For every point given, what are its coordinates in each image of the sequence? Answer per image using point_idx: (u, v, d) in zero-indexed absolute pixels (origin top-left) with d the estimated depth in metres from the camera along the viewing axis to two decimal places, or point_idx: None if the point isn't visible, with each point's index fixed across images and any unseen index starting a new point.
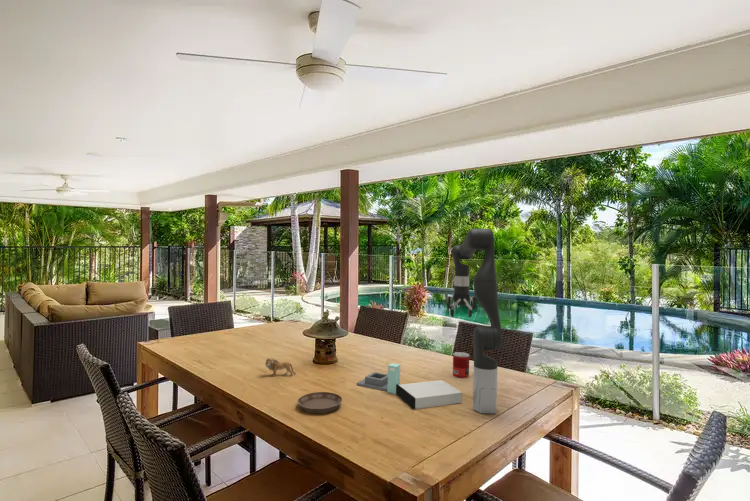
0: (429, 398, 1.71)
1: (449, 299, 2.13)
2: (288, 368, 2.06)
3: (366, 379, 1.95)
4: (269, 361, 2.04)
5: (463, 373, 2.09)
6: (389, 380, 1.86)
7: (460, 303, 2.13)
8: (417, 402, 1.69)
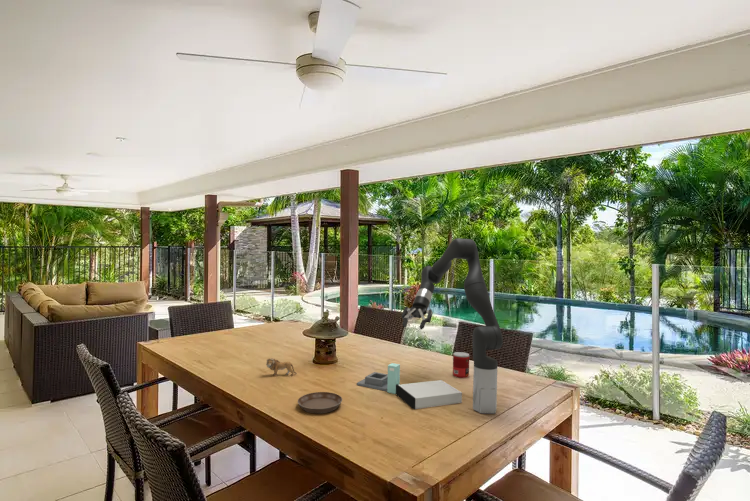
0: (429, 398, 1.71)
1: (405, 309, 2.05)
2: (289, 368, 2.06)
3: (366, 379, 1.95)
4: (270, 361, 2.04)
5: (463, 373, 2.09)
6: (389, 380, 1.86)
7: (415, 313, 2.02)
8: (417, 402, 1.69)
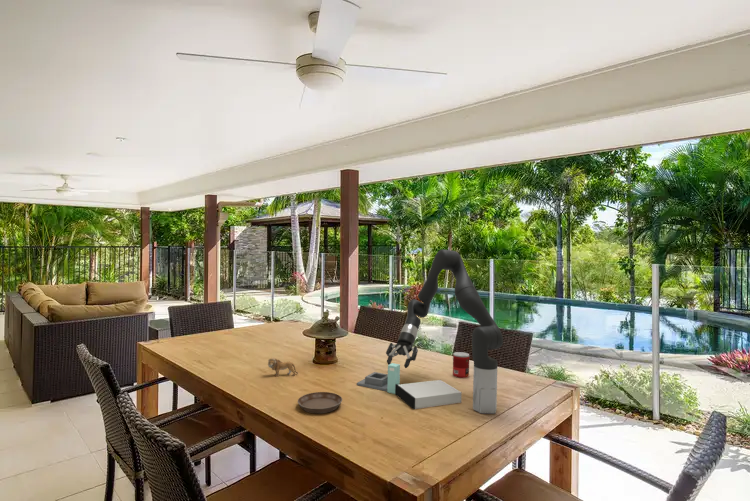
0: (428, 398, 1.71)
1: (390, 345, 1.99)
2: (291, 368, 2.07)
3: (366, 379, 1.95)
4: (272, 361, 2.04)
5: (463, 373, 2.09)
6: (389, 380, 1.86)
7: (399, 350, 1.95)
8: (417, 402, 1.69)
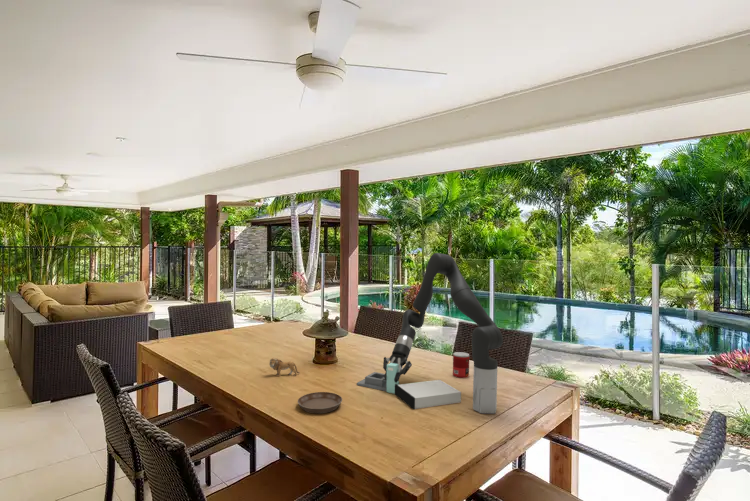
0: (428, 398, 1.71)
1: (384, 359, 1.93)
2: (292, 368, 2.07)
3: (366, 379, 1.95)
4: (273, 361, 2.05)
5: (463, 373, 2.09)
6: (388, 380, 1.87)
7: (396, 362, 1.90)
8: (416, 402, 1.69)
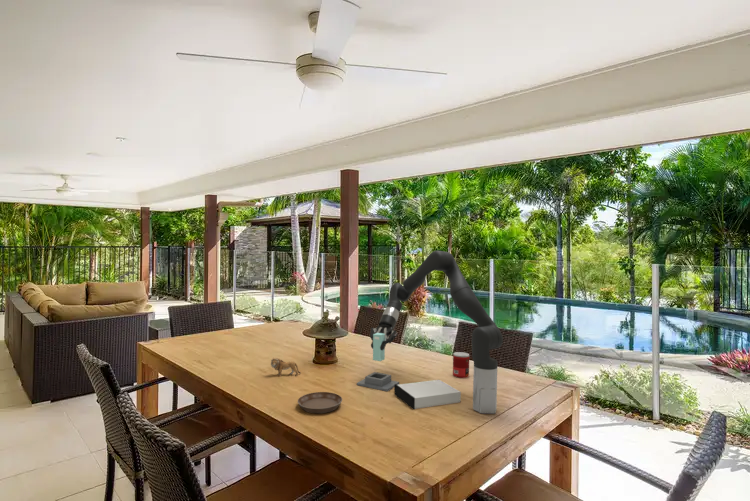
0: (428, 398, 1.71)
1: (371, 330, 2.02)
2: (293, 368, 2.07)
3: (366, 379, 1.95)
4: (274, 361, 2.05)
5: (463, 373, 2.09)
6: (374, 348, 1.96)
7: (382, 332, 1.99)
8: (416, 402, 1.69)
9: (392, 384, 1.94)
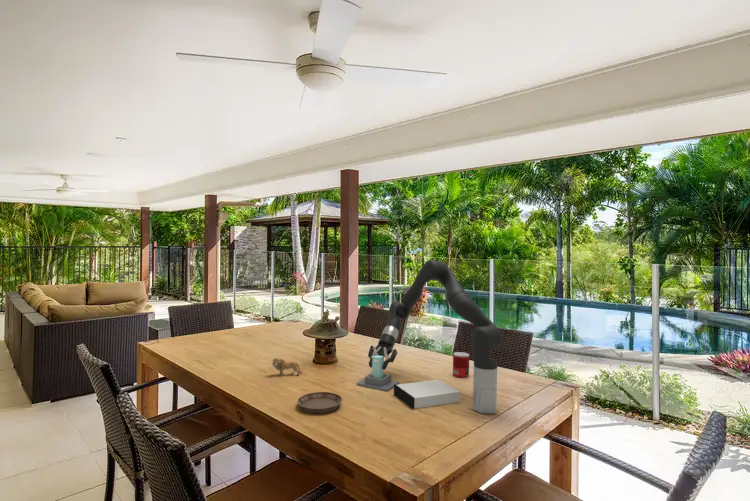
0: (428, 397, 1.71)
1: (371, 348, 2.03)
2: (295, 368, 2.07)
3: (366, 379, 1.95)
4: (276, 361, 2.05)
5: (463, 373, 2.09)
6: (373, 371, 1.96)
7: (381, 352, 1.99)
8: (416, 402, 1.69)
9: (392, 384, 1.94)
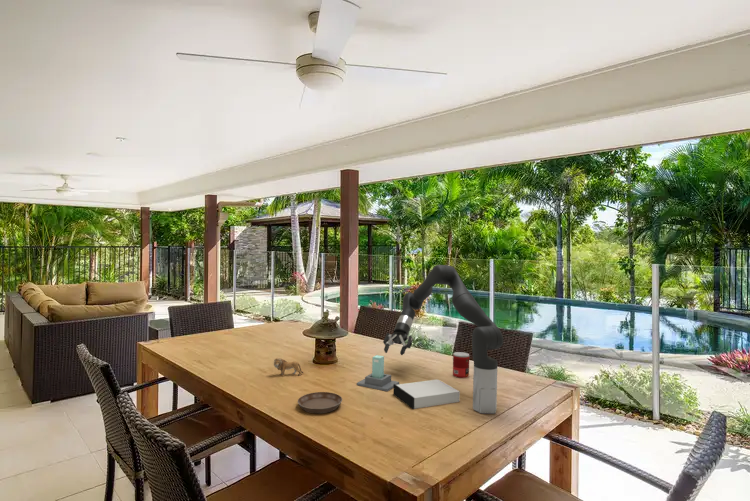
0: (427, 397, 1.71)
1: (387, 335, 2.14)
2: (296, 368, 2.07)
3: (366, 379, 1.95)
4: (277, 361, 2.05)
5: (463, 373, 2.09)
6: (373, 371, 1.96)
7: (396, 339, 2.10)
8: (416, 402, 1.69)
9: (392, 384, 1.94)
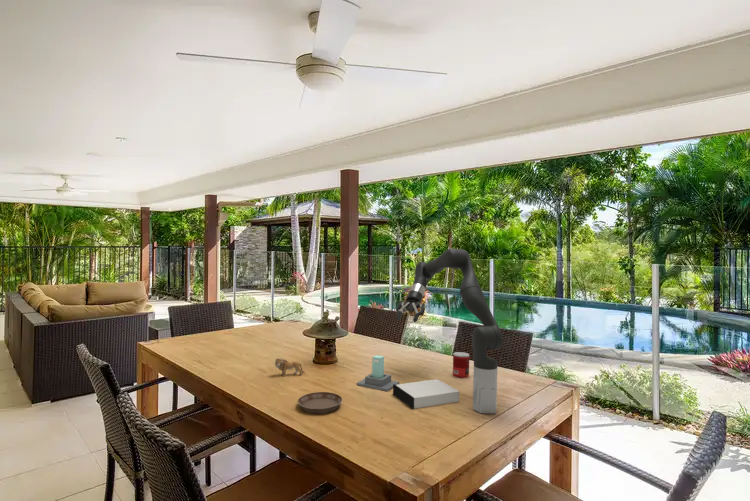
0: (427, 397, 1.71)
1: (399, 303, 2.13)
2: (298, 367, 2.07)
3: (366, 379, 1.95)
4: (279, 361, 2.05)
5: (463, 373, 2.09)
6: (373, 371, 1.96)
7: (408, 307, 2.09)
8: (416, 402, 1.69)
9: (392, 384, 1.94)
